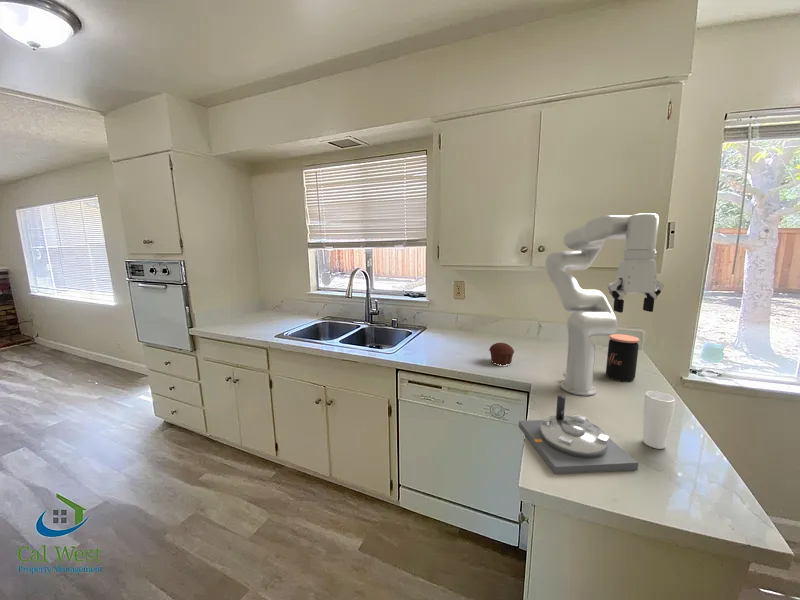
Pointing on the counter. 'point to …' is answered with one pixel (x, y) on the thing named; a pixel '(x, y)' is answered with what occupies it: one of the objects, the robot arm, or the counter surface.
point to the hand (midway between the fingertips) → (632, 311)
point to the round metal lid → (573, 433)
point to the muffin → (501, 353)
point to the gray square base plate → (568, 463)
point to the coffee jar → (622, 357)
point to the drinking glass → (657, 418)
